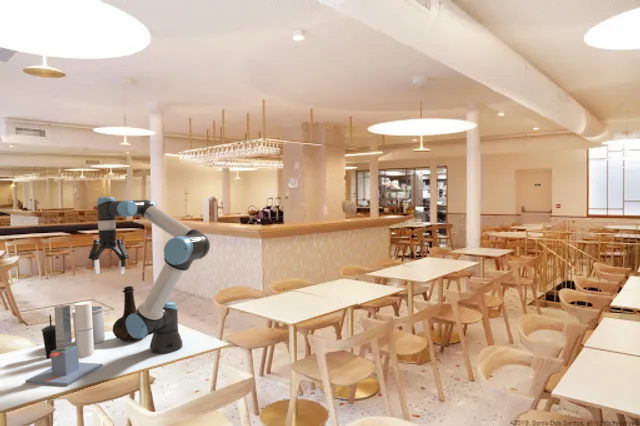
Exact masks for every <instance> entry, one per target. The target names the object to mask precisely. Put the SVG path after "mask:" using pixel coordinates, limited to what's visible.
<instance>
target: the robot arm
mask: <svg viewBox="0 0 640 426" xmlns="http://www.w3.org/2000/svg"><path fill="white" fill-rule="evenodd" d="M96 209H97V210H96V211H97V228H98V237H99V239H94V240H93V244H92V247H91V250H90V253H89V255H88V259H89V260H91V261H92V267H93V271H94V272H93V273H94V275H97V274H100V273H101V269H100V267H101V265H100V259H99V258H100V256H101V254H102V253H103V252H104V250H112V251H113V252H114V253H115V255H116V256H117V257H118V259H119V260H118V267H119V268H118V271H119V272H118V273H119V275H123V274H125V267H126V260H127V259H129V258H130V256H129V253H128V252H127V249H126V247H125V245H124V243H123V239H122V238H120V239H119V238H118V239H117V229H116V227H117V224H116V218H117V217H119V218H120V217H121V218H129V217H138V216H139V217H142V218H143V219H145V220H147V221H148V222H149V223H152V224H153V225H155V226H156V227H158V228H159V229H161V230H163V231H164V232H165V233H167V234H169V235H170V236H172V238H170V239H168V240H167V242H166V243H165V244H164V247H163V252H164V253H163V261H164V265H163V266H162V269H161V270H160V272H159V274H158V276H157V278H156V280H155V282H154V284H153V286H152V287H151V290H150V291H149V293H148V295H147V297H146V299H145V301H143V302H141V303H140V304H139V305H137V307H136V312H135V313H134V314H131V315H129V316H128V317H127V319H126V327H127V331H128V332H129V334H130V335H131V336H132V337H134V338H137V339H138V340H140V338H141V339H143V338H146V337H148V336H150V335H152V337H151V341H150V345H149V352H151V353H153V354H167V353H173V352H175V351H179V350H181V349H182V348H183V345H184V344H183V340H182V337H181V335H180V332H179V322H178V321H179V318H178V316H179V315H178V305H177V303H176V302H175V301H170V300H169V298H170V296H171V294H172V293H173V291H174V289H175V287H176V286H177V283H178V282H179V280H180V278H181V277H182V274H183V273H184V272H187V271H188V270H189V269H190V268H191V265H192V263H193V262H194V261H196V260H197V261H198V260H201V259H203V258H204V257H206V256H207V255H208V253H209V251H210V247H211V244H210V239H209V238H208V237H207V235H205V234H204V233H203V232H201V231H199V230H198V229H197V228H191V227H189V226H187V225H186V224H184V223H183V222H181V221H179V220H177V218H174V217H173V216H171V215H170V214H168V213H166V212H165V211H163V210H161V208H158V207H157V206H156V204H155V202H154V201H153V200H150V199H149V200H148V199H140V200H139V199H138V200H137V199H135V200H133V199H132V200H129V199H125V200H115V197H113V196H101V197H98V198H97V199H96Z"/></svg>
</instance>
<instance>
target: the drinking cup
mask: <svg viewBox="0 0 640 426" xmlns="http://www.w3.org/2000/svg"><path fill="white" fill-rule="evenodd" d="M48 317H49V325H47V326H44V328H43V327H42V329H40V330H41V332H42V337H43V338H42V339H43V344H44V352H45V356H46V357H45V358H46V359H51V357H50V354H51V351H53V350H56V349H57V347H56V330H55V324H52V314H49V315H48Z"/></svg>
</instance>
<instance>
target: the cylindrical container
mask: <svg viewBox="0 0 640 426" xmlns="http://www.w3.org/2000/svg"><path fill="white" fill-rule="evenodd" d="M73 306H74V310H75V324H76V343H77V345H76V346H78V358H87V357H91V356H93V355H94V354H95V347H94V346H95V344H94V341H93V323H92V306H93V305H92V301H89V300H88V301H87V300H86V301H79V302H77V303H76V302H75V303H74V305H73ZM76 343H75V344H76Z"/></svg>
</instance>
